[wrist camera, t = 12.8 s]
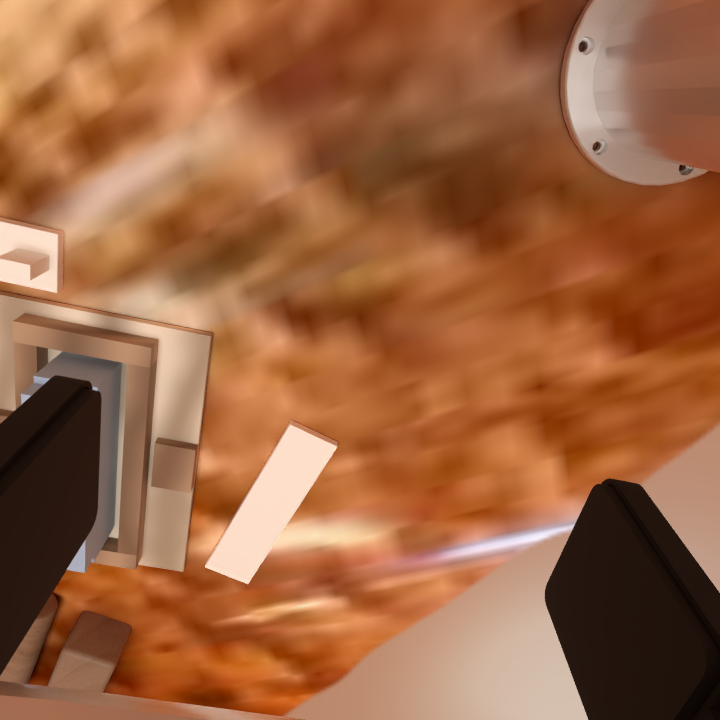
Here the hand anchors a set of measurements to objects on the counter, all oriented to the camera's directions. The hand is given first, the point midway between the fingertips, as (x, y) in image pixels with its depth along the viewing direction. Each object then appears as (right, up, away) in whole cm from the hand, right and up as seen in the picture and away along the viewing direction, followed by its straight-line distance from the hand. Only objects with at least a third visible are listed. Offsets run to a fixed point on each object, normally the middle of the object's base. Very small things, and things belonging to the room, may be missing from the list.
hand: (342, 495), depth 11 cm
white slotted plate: (-22, +10, +27) cm, 36 cm away
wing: (-7, -9, +36) cm, 38 cm away
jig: (-20, -4, +33) cm, 39 cm away
